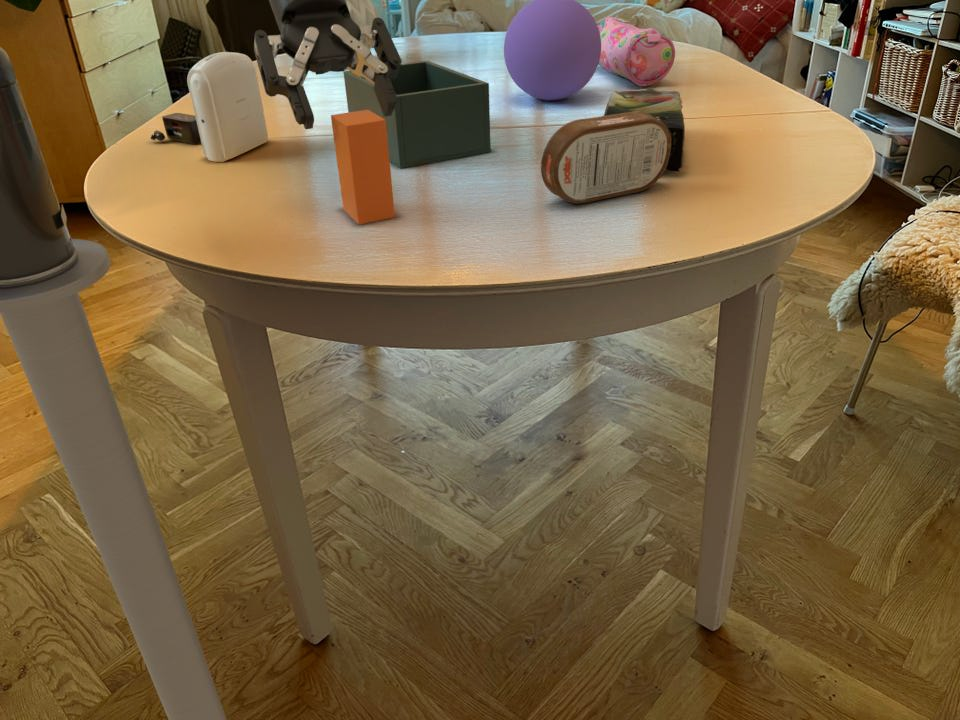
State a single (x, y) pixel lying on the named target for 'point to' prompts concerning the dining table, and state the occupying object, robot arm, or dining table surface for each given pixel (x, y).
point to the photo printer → (227, 105)
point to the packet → (363, 165)
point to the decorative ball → (552, 48)
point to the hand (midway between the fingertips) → (350, 118)
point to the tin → (605, 156)
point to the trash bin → (428, 113)
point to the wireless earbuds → (179, 128)
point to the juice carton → (654, 114)
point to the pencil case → (635, 51)
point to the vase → (362, 15)
